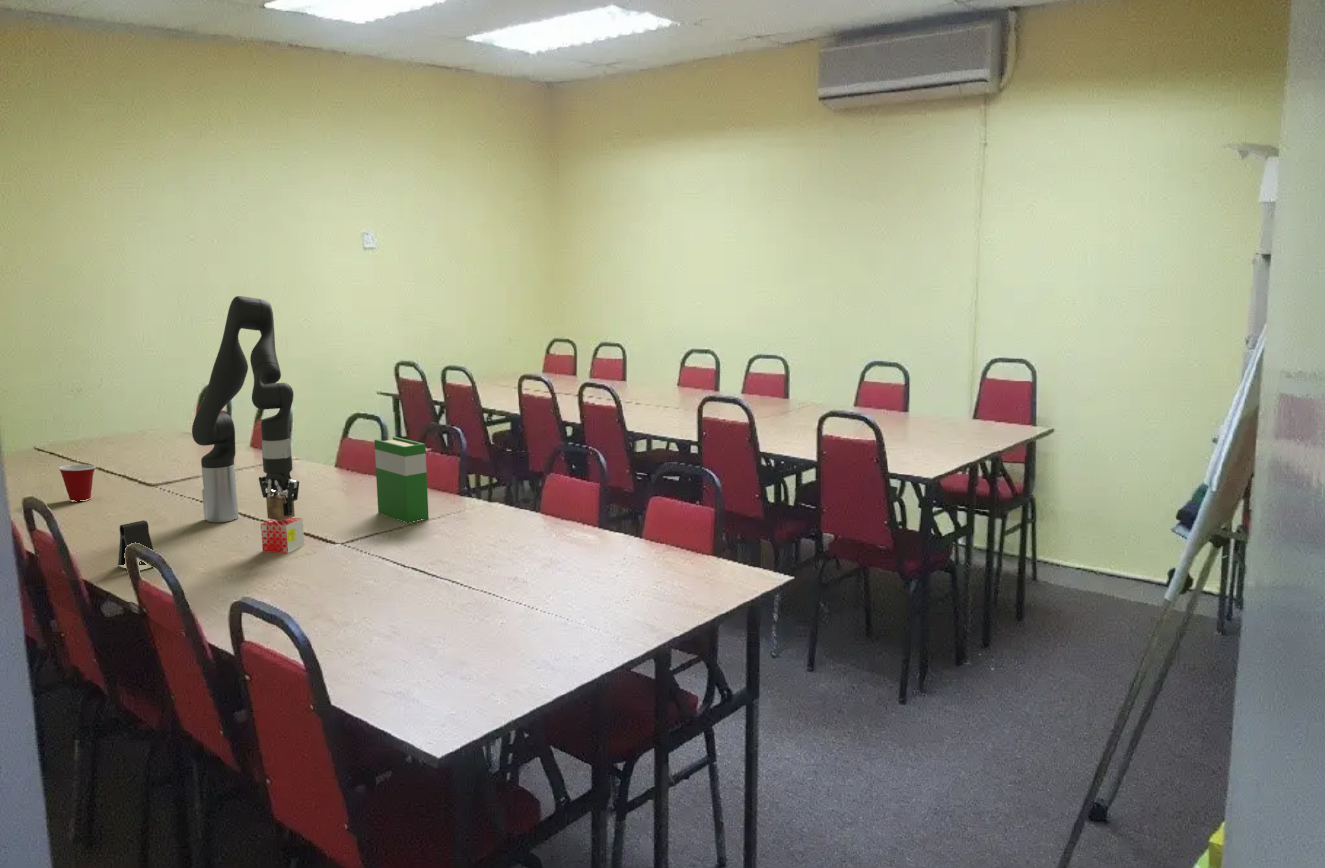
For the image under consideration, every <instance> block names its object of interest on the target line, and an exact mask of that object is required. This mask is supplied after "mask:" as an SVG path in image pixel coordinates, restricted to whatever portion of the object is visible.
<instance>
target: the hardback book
mask: <svg viewBox="0 0 1325 868" xmlns="http://www.w3.org/2000/svg"><path fill="white" fill-rule="evenodd" d="M426 452H427V451H426V443H423V442H419V441H414V440H411V439H405V438H401V437H397V436H392V439H388V440H380V439H374V457H375V474H376V475H375V478H376V479H375V480H376V494H377V495H376V496H377V511H378V512H377V513H378V514H379V513H380V514H379V515H382V514H383V516H385V515H386V517H389V518H391V519H394V520H397V519H399V520H398V521H400V520H402V521H401V522H403V521H405V522H407V523H406V524H410V523H409V522H412V523H414V522H413V521H416V522H418V521H417V520H421V519H425V520H429V518H430V517H429V498H428V477H427V473H428V471H427V453H426ZM421 521H422V520H421ZM405 522H404V523H405Z"/></svg>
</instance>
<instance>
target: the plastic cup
mask: <svg viewBox="0 0 1325 868" xmlns="http://www.w3.org/2000/svg"><path fill="white" fill-rule="evenodd" d="M96 468H97V466H96V465H93V464H69V465H61V466H59V467H58V469H59V471H60V474H61V477H62V480H63V483H64V487H65V490H66V493H67V494H68V499H69V500H75V501H80V500H86V499H89V498H90V499H91V497H92V489H93V488H92V487H93V482H94V481H93V477H94V472H95V469H96Z"/></svg>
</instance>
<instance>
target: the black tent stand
mask: <svg viewBox="0 0 1325 868" xmlns="http://www.w3.org/2000/svg"><path fill="white" fill-rule="evenodd" d="M119 535H120V537H119V550H118V563H117V565H124V564H125V558H124V553H125V548H126V547H127V545H129V544H131V543H135V542H136V543H140V544H142V545H144V546H146V547H148V548H150V549H152V550H154V547H153V543H152V539H151V535H150V531H149V523H148V521H147V520H139V521H135V522H129V523H124V524H120V525H119ZM140 562H141V564H140ZM140 562H139V565H146V564H145V563H144V562H142V561H140ZM124 570H126V568H125V569H124Z"/></svg>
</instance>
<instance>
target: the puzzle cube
mask: <svg viewBox="0 0 1325 868" xmlns="http://www.w3.org/2000/svg"><path fill="white" fill-rule="evenodd" d="M303 522H304V519H303V517H292V518H288V519H285V520H281V521H279V520H273V519H269V520H267V521H264V522H262V523H260V531H261V533H260V534H261V546H262V552H266V551H270V553H281V552H283V554H289V553H291V552H293V551H295V550H297V549H299V548H300V547H303V546H304V545H305V536H304V535H305V533H304V523H303ZM302 545H303V546H302Z"/></svg>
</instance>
